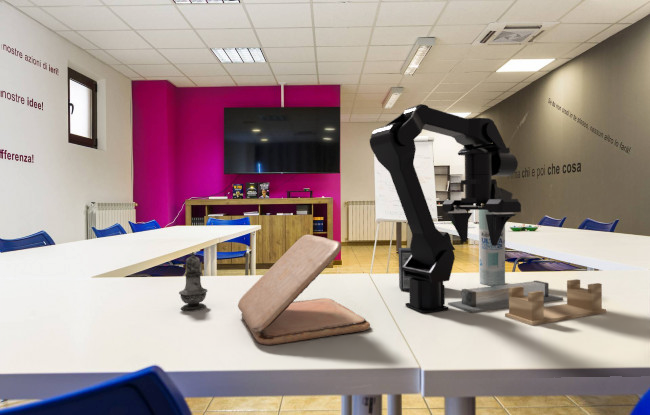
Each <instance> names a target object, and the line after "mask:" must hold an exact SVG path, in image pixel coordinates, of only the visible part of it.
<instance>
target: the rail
mask: <svg viewBox="0 0 650 415" xmlns="http://www.w3.org/2000/svg"><path fill="white" fill-rule="evenodd" d="M518 286H522V287H523V290H524V295H525V296H528V292H534V291H543V292H544V297H549V291H550V290H549V282H545V281H542V280H541V281H540V280H533V281H526V282H515V283H509V284H505V285H498V286H483V287H474V288H462V289H461V301H462V304H464V305H467V306H470V307H478V306H485V305H492V304H499V303H506V302H509V288H510V287H518Z"/></svg>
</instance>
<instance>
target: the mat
mask: <svg viewBox="0 0 650 415" xmlns="http://www.w3.org/2000/svg"><path fill="white" fill-rule="evenodd" d="M560 300H564V297H563V296H557V295H553V294H549V297H544V303H547V302H555V301H560ZM447 303H448V304H447V305H449V306H451V307H453V308H457V309H460V310H463V311H464V312H465V311H466V312H468V313H470V314H473V313H480V312H481V313H482V312H486V311H487V312H488V311H493V310H499V309H500V310H501V309H507V308H508V309H509V302H506V303H499V304H492V305H485V306H478V307H470V306H467V305H464V304H462V300H459V301H451V302H447Z"/></svg>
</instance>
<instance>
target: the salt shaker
mask: <svg viewBox="0 0 650 415" xmlns="http://www.w3.org/2000/svg"><path fill="white" fill-rule="evenodd" d="M202 274H203V272H201V260H200V258H199V257H198V256H195V253H194V252H192V253H191V255H190V256H189V257H188V258H186V260H185V272H184V274H183V275H184V276H185V287H184V289H183V290H180V291H179V292H178V294H179V295H180V299H181V301H182V302H183V303H185V304H184V305H183V306H182V307H181V308H180V311H183V312H196V311H200V310H205V309H206V308H207V305H206V304H205V303H202V302H203V301H204V300H205V299H206V297H207V293H208V291H209V290H208V289H207V288H203V287H202V283H201V275H202Z"/></svg>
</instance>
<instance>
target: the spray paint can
mask: <svg viewBox="0 0 650 415" xmlns="http://www.w3.org/2000/svg"><path fill="white" fill-rule="evenodd" d="M486 214H493V213H492V212H488V210H478V246H479V247H478V248H479V250H478V251H479V254H478V255H479V256H478V257H479V260H478V261H479V284H481V285H483V286H488V287H490V286H498V285H506V225H505V226H504V228H503V230H502V233H501V236H500V238H499V241H498V244H497V246H492V244H491V240H490V236H489V230H488V225H487V220H486Z"/></svg>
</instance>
